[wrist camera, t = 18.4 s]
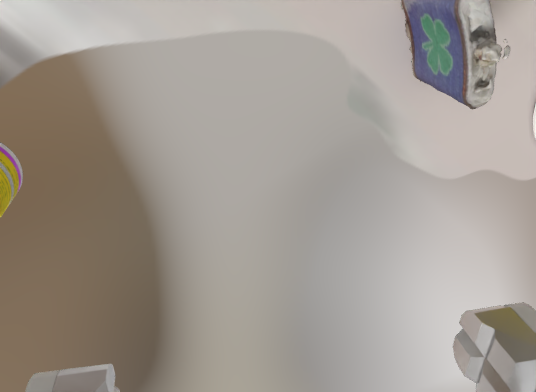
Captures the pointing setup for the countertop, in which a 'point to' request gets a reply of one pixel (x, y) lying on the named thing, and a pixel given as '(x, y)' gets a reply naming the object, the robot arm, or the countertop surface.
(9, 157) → the supplement bottle
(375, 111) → the countertop surface
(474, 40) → the flask
